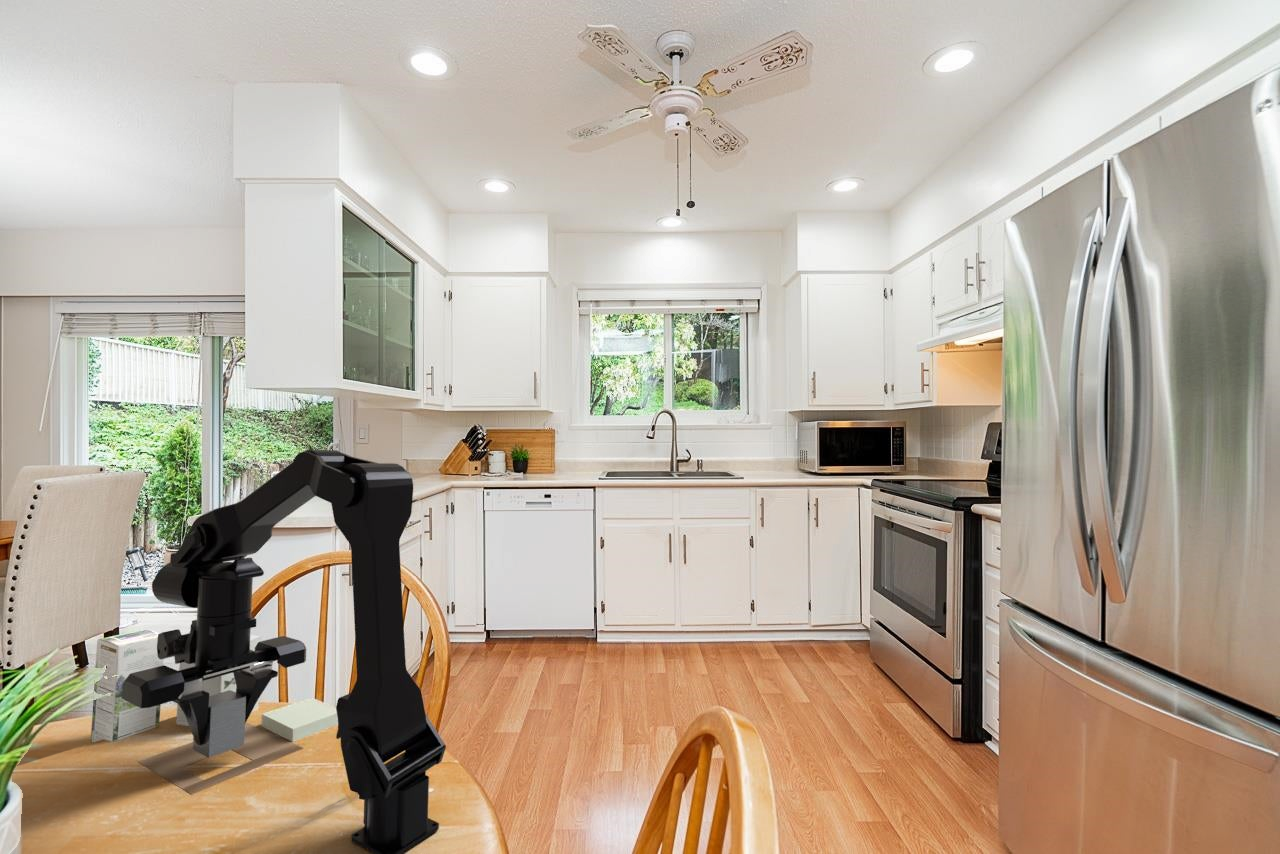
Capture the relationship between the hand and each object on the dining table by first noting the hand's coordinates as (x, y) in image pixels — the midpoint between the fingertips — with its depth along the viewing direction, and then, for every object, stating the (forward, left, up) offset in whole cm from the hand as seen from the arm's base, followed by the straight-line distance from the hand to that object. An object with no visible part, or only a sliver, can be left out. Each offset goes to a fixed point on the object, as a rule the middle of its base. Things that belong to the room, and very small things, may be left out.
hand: (219, 737), depth 77 cm
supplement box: (+15, -7, -5) cm, 17 cm away
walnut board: (+2, -1, -5) cm, 5 cm away
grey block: (0, 0, -1) cm, 1 cm away
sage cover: (+2, -12, -5) cm, 13 cm away
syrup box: (+21, +2, -5) cm, 22 cm away
